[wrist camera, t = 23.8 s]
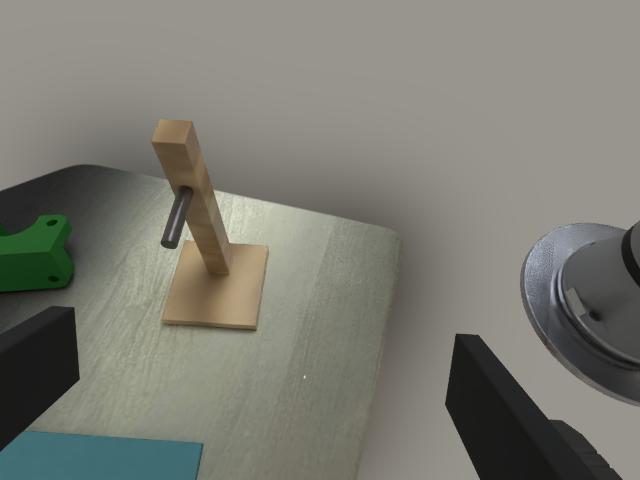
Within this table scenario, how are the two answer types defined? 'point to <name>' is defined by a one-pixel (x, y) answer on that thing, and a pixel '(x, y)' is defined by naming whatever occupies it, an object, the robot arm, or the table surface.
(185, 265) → the hook stand
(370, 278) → the table surface
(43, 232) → the clamp
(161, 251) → the table surface
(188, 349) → the table surface
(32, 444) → the mat
